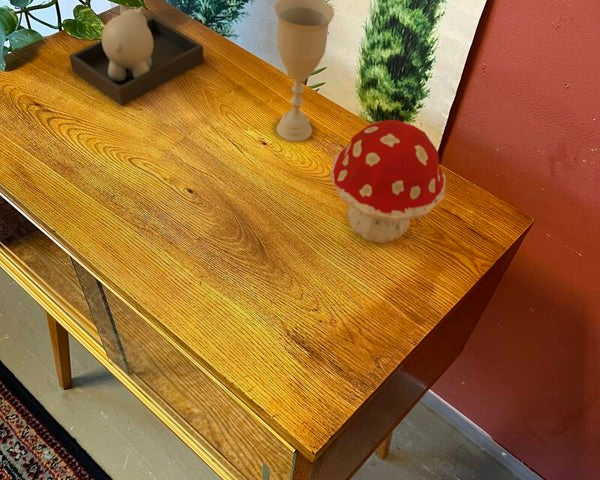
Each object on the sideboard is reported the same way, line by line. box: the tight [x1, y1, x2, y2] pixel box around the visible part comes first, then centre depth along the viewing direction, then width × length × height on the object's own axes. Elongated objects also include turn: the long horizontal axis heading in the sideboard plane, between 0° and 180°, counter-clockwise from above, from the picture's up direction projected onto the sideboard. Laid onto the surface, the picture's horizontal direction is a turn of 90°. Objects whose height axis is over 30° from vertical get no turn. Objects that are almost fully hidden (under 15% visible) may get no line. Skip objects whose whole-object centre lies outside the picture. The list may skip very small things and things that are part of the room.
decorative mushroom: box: [329, 119, 447, 244], centre depth 79 cm, size 14×14×15 cm
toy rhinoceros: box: [101, 3, 153, 82], centre depth 98 cm, size 7×12×8 cm, turn 178°
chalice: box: [274, 0, 335, 142], centre depth 88 cm, size 7×7×18 cm
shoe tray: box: [68, 15, 205, 106], centre depth 100 cm, size 16×11×3 cm
